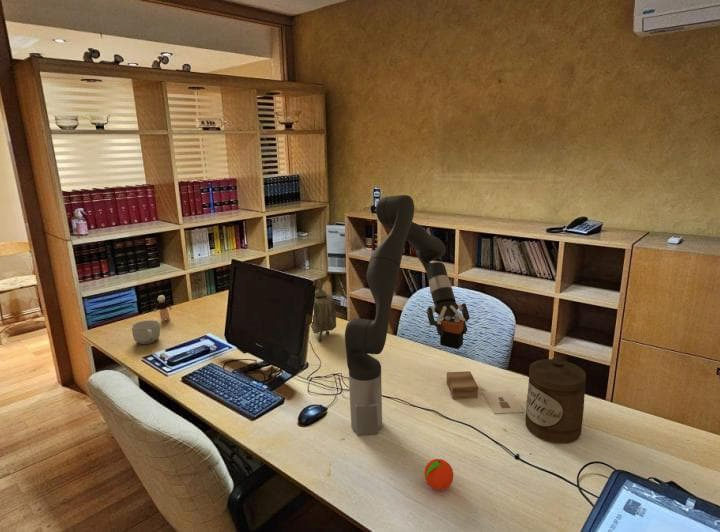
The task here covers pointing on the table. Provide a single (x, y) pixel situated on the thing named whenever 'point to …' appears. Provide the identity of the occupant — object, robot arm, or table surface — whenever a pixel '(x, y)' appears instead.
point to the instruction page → (502, 402)
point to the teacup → (146, 331)
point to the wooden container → (555, 400)
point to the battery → (452, 332)
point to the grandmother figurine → (163, 309)
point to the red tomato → (438, 474)
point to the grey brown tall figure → (323, 312)
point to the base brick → (462, 385)
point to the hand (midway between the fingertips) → (453, 334)
